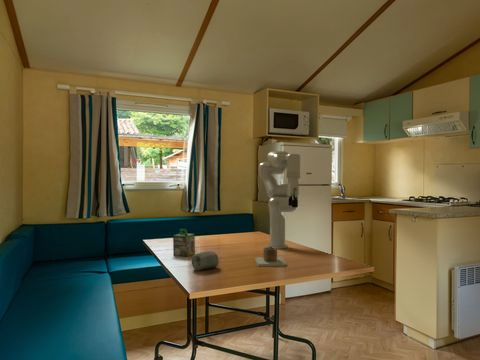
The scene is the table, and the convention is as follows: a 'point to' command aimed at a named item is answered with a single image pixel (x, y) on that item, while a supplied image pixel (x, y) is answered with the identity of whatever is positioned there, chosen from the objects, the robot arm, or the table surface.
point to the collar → (270, 254)
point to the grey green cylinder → (204, 260)
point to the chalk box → (184, 244)
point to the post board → (261, 262)
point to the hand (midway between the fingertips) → (293, 206)
